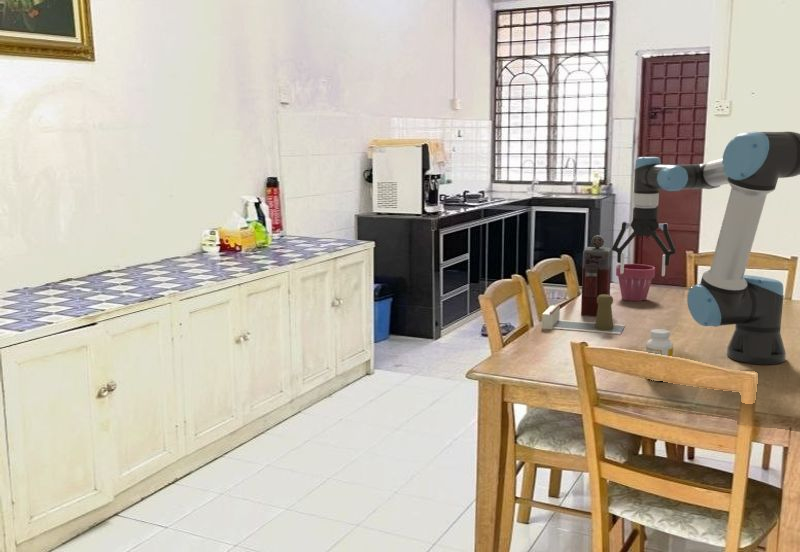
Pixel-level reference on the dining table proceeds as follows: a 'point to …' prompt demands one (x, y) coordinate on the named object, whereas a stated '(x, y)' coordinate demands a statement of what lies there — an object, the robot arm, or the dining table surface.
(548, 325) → the stop block
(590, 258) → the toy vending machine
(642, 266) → the plant pot
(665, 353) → the supplement bottle
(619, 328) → the mat
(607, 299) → the cork
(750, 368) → the dining table surface
